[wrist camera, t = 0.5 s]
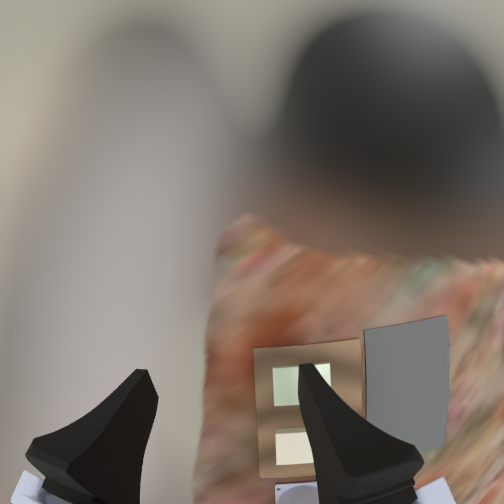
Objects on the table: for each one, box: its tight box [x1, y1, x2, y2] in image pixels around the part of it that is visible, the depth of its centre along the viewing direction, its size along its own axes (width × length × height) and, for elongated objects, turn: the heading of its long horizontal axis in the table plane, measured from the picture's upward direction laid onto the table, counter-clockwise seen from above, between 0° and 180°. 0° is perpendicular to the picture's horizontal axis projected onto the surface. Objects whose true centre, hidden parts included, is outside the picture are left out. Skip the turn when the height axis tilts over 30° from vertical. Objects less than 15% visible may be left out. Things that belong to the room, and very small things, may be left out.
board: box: [253, 338, 362, 478], centre depth 31 cm, size 20×14×2 cm
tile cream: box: [275, 427, 314, 465], centre depth 28 cm, size 5×7×2 cm
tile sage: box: [273, 362, 331, 406], centre depth 31 cm, size 5×7×2 cm
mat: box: [364, 315, 449, 454], centre depth 30 cm, size 22×14×1 cm, turn 3°
